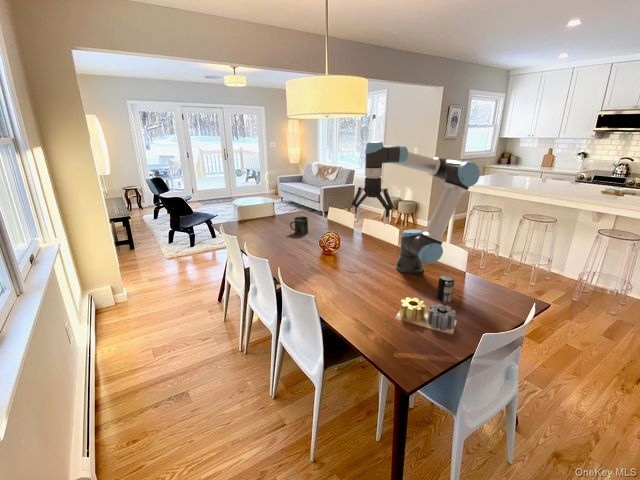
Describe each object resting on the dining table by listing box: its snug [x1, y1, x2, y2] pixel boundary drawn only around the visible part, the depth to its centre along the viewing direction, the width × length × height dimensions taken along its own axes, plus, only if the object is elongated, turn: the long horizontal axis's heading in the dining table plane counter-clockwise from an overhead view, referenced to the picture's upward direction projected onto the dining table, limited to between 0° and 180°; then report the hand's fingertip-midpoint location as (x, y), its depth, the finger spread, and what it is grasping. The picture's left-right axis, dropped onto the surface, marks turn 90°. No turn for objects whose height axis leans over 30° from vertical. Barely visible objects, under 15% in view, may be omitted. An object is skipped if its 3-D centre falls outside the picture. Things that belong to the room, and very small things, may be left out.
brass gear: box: [399, 296, 427, 323], centre depth 134 cm, size 10×10×6 cm
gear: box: [427, 303, 457, 332], centre depth 129 cm, size 10×10×7 cm
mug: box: [289, 215, 309, 235], centre depth 248 cm, size 11×15×12 cm
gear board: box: [394, 310, 458, 335], centre depth 132 cm, size 11×23×5 cm, turn 60°
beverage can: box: [436, 274, 455, 303], centre depth 147 cm, size 7×7×12 cm
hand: (371, 221), depth 152 cm, fingers open, 13 cm apart
